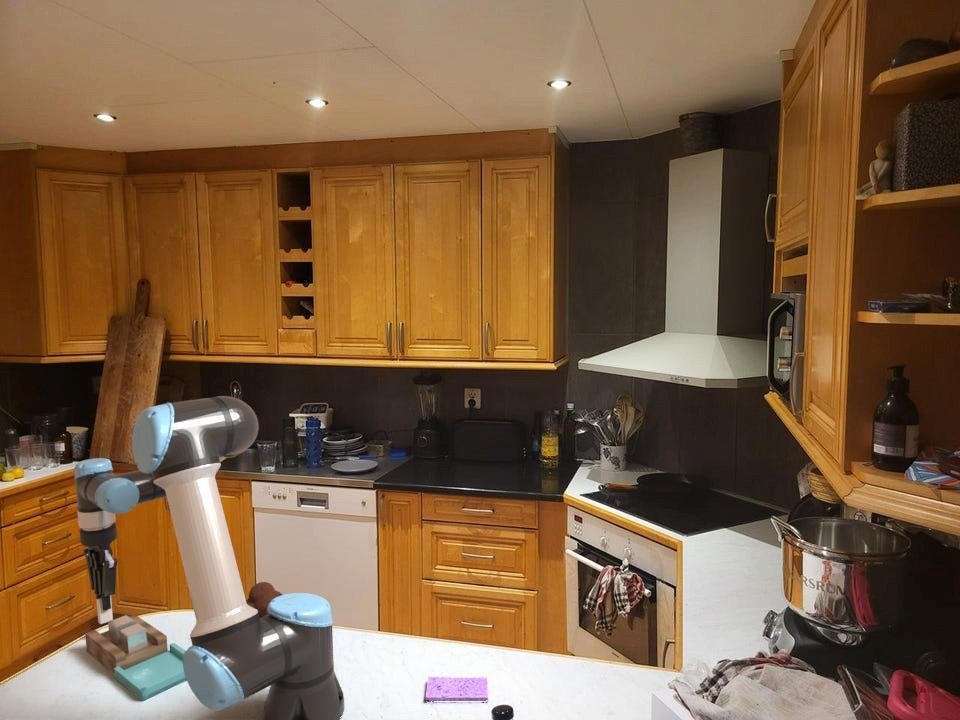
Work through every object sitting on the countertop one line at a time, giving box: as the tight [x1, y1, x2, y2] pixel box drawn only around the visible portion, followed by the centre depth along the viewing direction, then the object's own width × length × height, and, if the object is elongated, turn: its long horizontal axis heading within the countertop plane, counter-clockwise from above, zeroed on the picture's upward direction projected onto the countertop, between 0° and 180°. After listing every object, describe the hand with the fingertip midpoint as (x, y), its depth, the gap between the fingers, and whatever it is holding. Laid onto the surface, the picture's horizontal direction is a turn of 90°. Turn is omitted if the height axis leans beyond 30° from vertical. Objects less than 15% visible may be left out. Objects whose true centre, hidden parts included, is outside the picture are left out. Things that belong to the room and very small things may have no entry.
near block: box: [120, 623, 147, 653], centre depth 150 cm, size 4×4×4 cm
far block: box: [107, 614, 134, 644], centre depth 154 cm, size 4×4×4 cm
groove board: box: [84, 614, 169, 675], centre depth 153 cm, size 16×11×4 cm
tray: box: [113, 642, 187, 702], centre depth 144 cm, size 13×13×2 cm
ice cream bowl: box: [246, 581, 283, 618], centre depth 154 cm, size 11×11×15 cm
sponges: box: [425, 676, 489, 703], centre depth 137 cm, size 7×13×2 cm, turn 89°
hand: (105, 621), depth 160 cm, fingers closed
